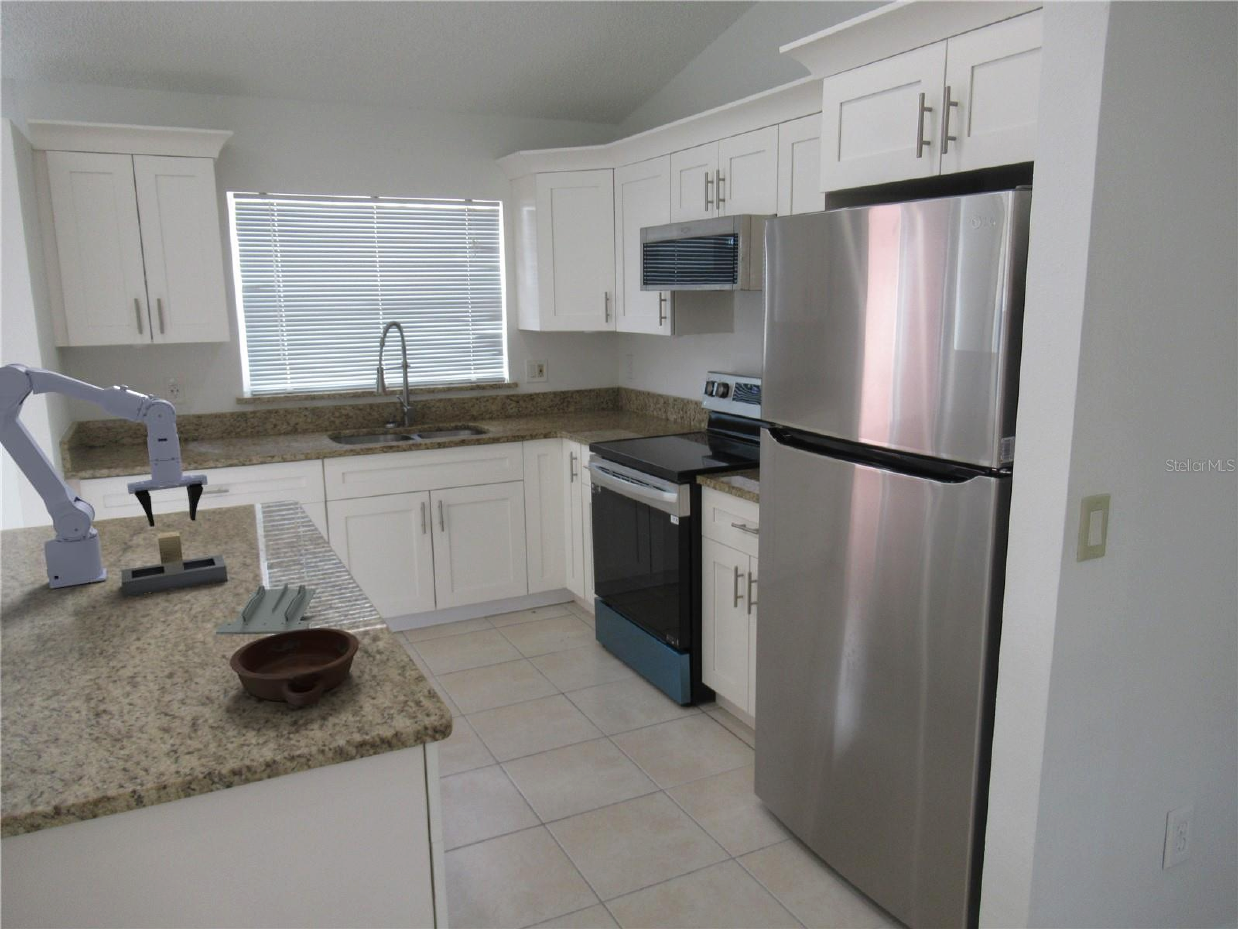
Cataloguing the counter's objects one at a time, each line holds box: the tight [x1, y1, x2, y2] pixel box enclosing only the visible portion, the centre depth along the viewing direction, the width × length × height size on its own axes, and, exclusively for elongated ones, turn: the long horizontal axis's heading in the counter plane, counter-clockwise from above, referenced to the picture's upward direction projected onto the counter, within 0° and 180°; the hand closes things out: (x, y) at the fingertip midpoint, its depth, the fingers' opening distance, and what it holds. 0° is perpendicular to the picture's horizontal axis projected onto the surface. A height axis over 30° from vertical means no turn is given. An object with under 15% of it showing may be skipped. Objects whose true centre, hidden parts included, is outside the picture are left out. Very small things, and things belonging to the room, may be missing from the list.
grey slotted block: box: [121, 554, 228, 598], centre depth 170 cm, size 18×9×3 cm, turn 120°
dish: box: [229, 627, 360, 707], centre depth 125 cm, size 18×22×5 cm
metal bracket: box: [215, 582, 317, 635], centre depth 150 cm, size 14×6×15 cm
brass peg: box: [156, 530, 184, 564], centre depth 180 cm, size 4×4×7 cm
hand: (172, 522), depth 180 cm, fingers open, 7 cm apart
